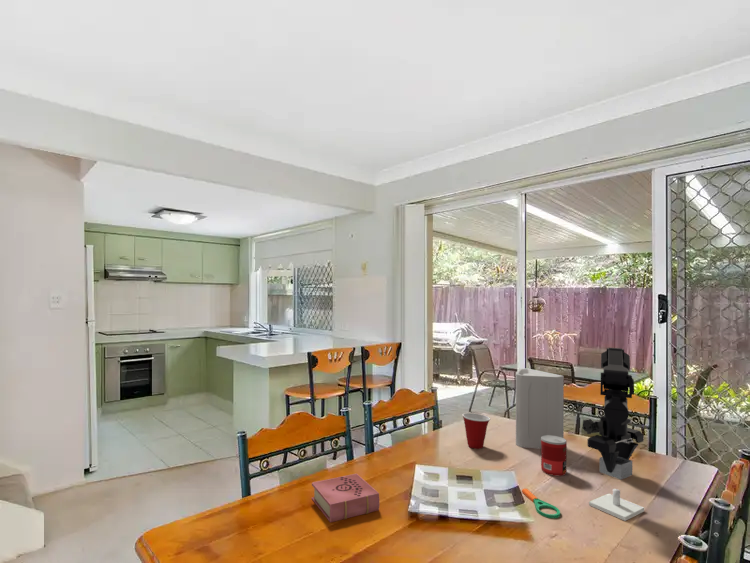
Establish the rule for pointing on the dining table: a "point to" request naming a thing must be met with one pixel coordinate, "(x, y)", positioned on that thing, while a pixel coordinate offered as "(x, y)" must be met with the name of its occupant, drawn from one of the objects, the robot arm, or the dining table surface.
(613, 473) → the square hole block
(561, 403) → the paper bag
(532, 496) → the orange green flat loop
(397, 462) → the dining table surface
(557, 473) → the canned food
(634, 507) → the post block
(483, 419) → the plastic cup
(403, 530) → the dining table surface
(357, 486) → the book
